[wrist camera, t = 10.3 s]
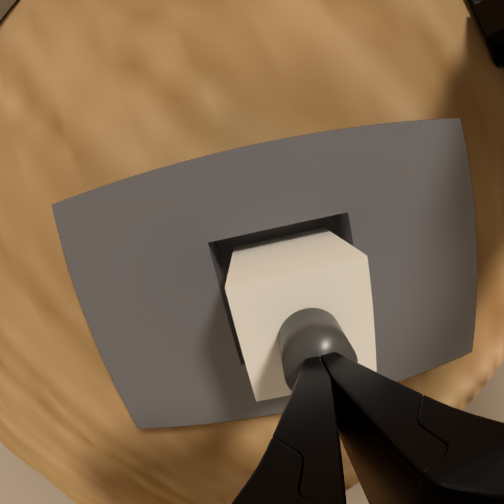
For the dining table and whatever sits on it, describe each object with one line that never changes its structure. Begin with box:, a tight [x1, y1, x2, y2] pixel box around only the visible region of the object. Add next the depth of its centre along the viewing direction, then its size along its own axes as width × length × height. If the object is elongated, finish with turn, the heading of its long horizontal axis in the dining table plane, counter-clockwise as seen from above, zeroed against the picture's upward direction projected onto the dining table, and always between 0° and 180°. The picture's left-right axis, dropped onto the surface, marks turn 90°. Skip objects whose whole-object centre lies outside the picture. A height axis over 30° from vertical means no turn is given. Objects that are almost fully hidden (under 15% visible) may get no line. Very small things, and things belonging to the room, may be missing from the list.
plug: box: [225, 227, 377, 402], centre depth 12 cm, size 4×4×8 cm
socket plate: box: [52, 118, 477, 428], centre depth 15 cm, size 20×13×2 cm, turn 103°
